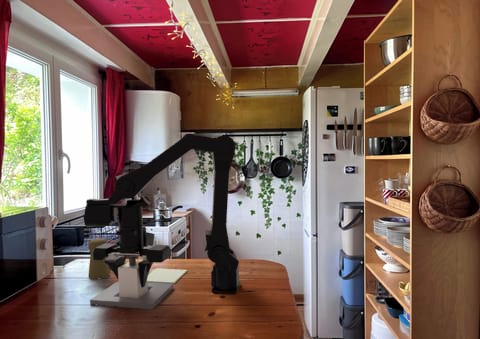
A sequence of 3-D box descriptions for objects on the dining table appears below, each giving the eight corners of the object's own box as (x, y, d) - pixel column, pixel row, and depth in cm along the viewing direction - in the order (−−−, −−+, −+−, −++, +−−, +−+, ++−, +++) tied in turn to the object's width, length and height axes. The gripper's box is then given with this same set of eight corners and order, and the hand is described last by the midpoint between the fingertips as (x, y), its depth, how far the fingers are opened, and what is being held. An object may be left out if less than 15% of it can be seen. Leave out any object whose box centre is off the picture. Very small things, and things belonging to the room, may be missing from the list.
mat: (187, 271, 101) (187, 269, 101) (174, 283, 91) (174, 282, 91) (156, 269, 103) (156, 268, 103) (140, 281, 93) (140, 280, 93)
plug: (147, 292, 86) (146, 254, 85) (138, 301, 81) (136, 260, 80) (130, 291, 87) (128, 253, 86) (119, 299, 82) (117, 259, 81)
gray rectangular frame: (173, 288, 88) (173, 283, 88) (152, 309, 76) (152, 304, 76) (118, 285, 91) (118, 280, 91) (90, 304, 79) (90, 299, 79)
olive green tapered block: (113, 272, 102) (112, 236, 101) (103, 279, 96) (102, 241, 95) (95, 272, 102) (93, 236, 102) (83, 279, 96) (82, 241, 96)
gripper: (178, 218, 89) (180, 276, 89) (115, 218, 93) (117, 273, 93) (160, 228, 78) (162, 293, 79) (89, 226, 82) (92, 289, 82)
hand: (133, 286), depth 83 cm, fingers closed on plug, 5 cm apart
